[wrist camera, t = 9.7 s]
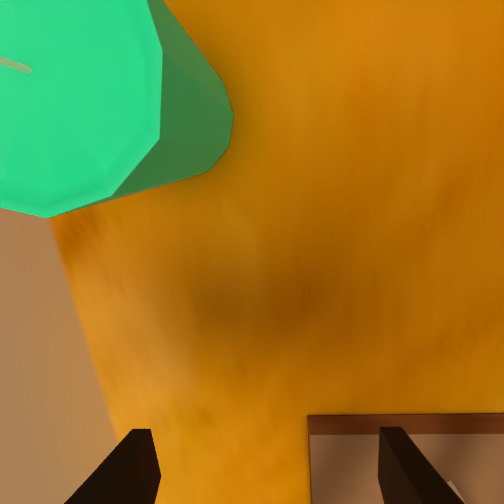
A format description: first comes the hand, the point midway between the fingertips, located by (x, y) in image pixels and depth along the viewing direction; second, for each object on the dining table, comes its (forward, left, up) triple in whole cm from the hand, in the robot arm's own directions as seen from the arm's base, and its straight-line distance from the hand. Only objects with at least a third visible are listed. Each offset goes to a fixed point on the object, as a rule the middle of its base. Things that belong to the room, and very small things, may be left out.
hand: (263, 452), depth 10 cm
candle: (+4, -11, -10) cm, 15 cm away
